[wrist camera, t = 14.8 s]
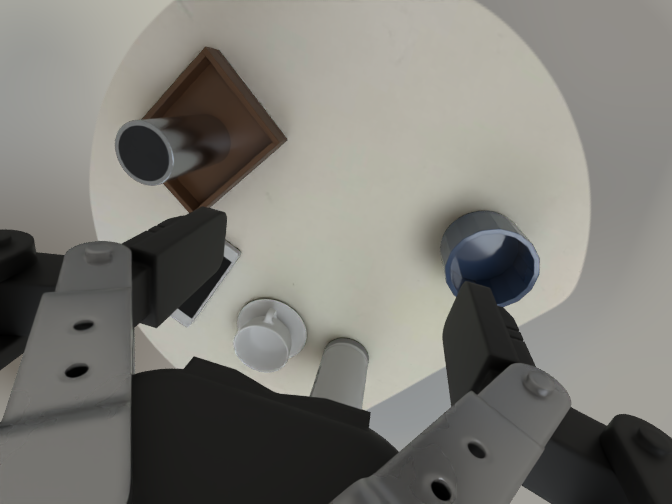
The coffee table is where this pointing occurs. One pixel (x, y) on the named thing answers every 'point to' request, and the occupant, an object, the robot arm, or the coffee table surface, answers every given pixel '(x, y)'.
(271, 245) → the coffee table surface
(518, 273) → the bucket
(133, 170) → the silver cup
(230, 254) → the smartphone
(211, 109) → the tray
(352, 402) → the travel mug
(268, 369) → the teacup
